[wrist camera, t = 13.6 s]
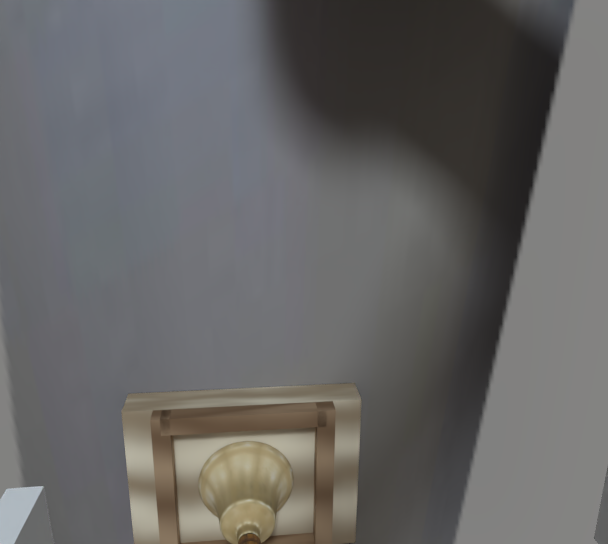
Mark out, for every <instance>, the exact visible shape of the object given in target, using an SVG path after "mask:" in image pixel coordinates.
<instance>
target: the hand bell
mask: <svg viewBox="0 0 608 544" xmlns="http://www.w3.org/2000/svg"><path fill="white" fill-rule="evenodd" d="M293 479H294V477H293V471H292V468H291V465H290V463H289V461H288V460H287V458H286V457H285V456H284V455H283V454H282V453H281V452H280V451H279V450H277V449H276V448H274V447H272V446H270V445H268V444H265V443H261V442H256V441H243V442H236V443H232V444H229V445H227V446H225V447H223V448H221V449H219V450H218V451H216V452H215V453H214V454H213V455H211V456H210V458H209V459H208V460H207V461H206V462H205V464H204V465H203V467H202V469H201V472H200V476H199V480H198V489H199V494H200V497H201V499H202V501H203V503H204V505H205V506H206V507H207V509H208V510H209V511H210V512H211V513H212V514H214V515H215V516H216V517H218V518H219V525H220V530H221V533H222V535H223V536H224V538H225V539H226V540H227V541H228V542H230V543H232V544H261V543H262V542H264V541H265V540H266V539H268V538H269V536H270V535H271V534H272V532H273V530H274V528H275V525H276V514H277V512H278V511H279V510H280V509H281V508H282V507H283V505H284V504H285V503H286V501H287V500H288V498H289V496H290V494H291V491H292V488H293Z"/></svg>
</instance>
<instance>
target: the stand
mask: <svg viewBox="0 0 608 544" xmlns="http://www.w3.org/2000/svg"><path fill="white" fill-rule="evenodd" d="M360 421H361V397H360V395H359V393H358V390H357V388H356V386H355V383H344V384H323V385H302V386H281V387H260V388H239V389H218V390H197V391H176V392H155V393H134V394H128V396H127V399H126V402H125V404H124V407H123V409H122V422H123V432H124V442H125V453H126V463H127V474H128V484H129V494H130V505H131V515H132V526H133V536H134V544H232V543H230V542H228V541H227V540H226V539H225V538H224V536H223V535H222V533H221V530H220V525H219V518H218V517H216V516H215V515H214V514H212V513H211V512H210V511H209V510H208V509H207V507H206V506H205V505H204V503H203V501H202V499H201V497H200V494H199V489H198V480H199V476H200V472H201V469H202V467H203V465H204V464H205V462H206V461H207V460H208V459H209V458H210V456H211V455H213V454H214V453H215V452H216V451H218V450H219V449H221V448H223V447H225V446H227V445H229V444H232V443H236V442H243V441H256V442H261V443H265V444H268V445H270V446H272V447H274V448H276V449H277V450H279V451H280V452H281V453H282V454H283V455H284V456H285V457H286V458H287V460H288V461H289V463H290V465H291V468H292V471H293V477H294V479H293V488H292V491H291V494H290V496H289V498H288V500H287V501H286V503H285V504H284V505H283V507H282V508H281V509H280V510H279V511H278V512H277V514H276V525H275V528H274V530H273V532H272V534H271V535H270V536H269V538H268V539H266V540H265V541H264V542H262V543H261V544H343V543H355V537H356V514H357V491H358V468H359V444H360Z"/></svg>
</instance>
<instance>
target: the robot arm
mask: <svg viewBox="0 0 608 544" xmlns="http://www.w3.org/2000/svg"><path fill="white" fill-rule="evenodd" d="M594 539H595V540H596V541H597V543H598V544H608V468H607V473H606V478H605V483H604V489H603V494H602V499H601V504H600V509H599V515H598V520H597V525H596V530H595V536H594ZM0 544H54V540H53V535H52V529H51V523H50V518H49V512H48V507H47V501H46V495H45V490H44V486H39V487H25V488H10V489H6V491H5V493H4V494H3V496H2V498H1V499H0Z"/></svg>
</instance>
